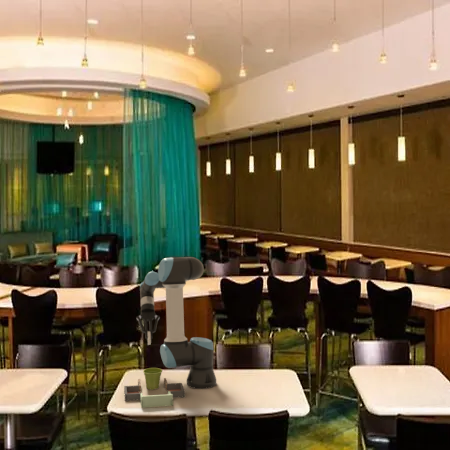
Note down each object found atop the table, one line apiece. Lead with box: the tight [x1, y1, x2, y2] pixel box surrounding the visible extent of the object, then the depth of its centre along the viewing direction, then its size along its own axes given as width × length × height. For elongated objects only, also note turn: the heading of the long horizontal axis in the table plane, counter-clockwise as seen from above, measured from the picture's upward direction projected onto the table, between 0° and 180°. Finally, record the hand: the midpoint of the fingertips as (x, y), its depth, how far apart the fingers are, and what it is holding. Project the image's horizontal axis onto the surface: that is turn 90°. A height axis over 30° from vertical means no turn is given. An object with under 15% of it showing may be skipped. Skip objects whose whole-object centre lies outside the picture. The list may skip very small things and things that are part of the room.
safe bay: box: [139, 390, 174, 409], centre depth 257 cm, size 11×14×5 cm
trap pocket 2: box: [166, 382, 186, 399], centre depth 270 cm, size 12×8×3 cm, turn 12°
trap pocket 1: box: [123, 384, 142, 402], centre depth 266 cm, size 12×8×3 cm, turn 12°
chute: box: [137, 377, 169, 393], centre depth 278 cm, size 10×14×3 cm
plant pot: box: [142, 367, 163, 391], centre depth 278 cm, size 9×9×9 cm
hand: (149, 343), depth 299 cm, fingers closed
